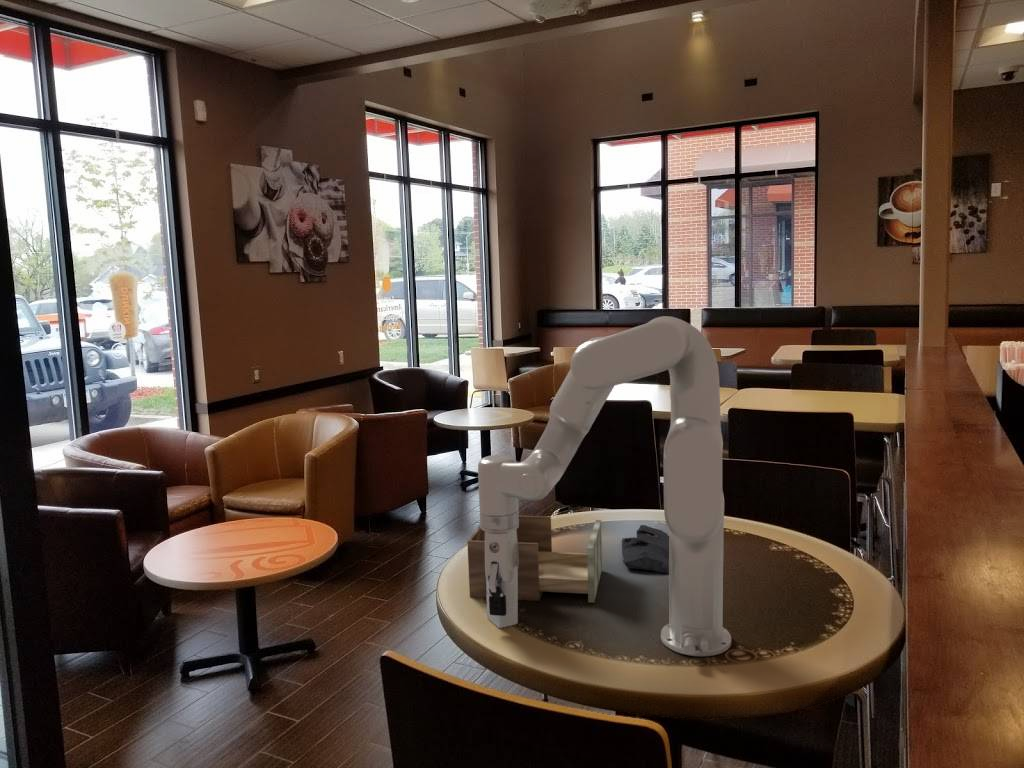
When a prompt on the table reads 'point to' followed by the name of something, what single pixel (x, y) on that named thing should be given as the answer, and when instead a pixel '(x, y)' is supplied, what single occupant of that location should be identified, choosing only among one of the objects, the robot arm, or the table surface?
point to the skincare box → (511, 602)
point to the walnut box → (530, 541)
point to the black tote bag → (647, 550)
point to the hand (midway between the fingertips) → (502, 605)
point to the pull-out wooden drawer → (573, 568)
